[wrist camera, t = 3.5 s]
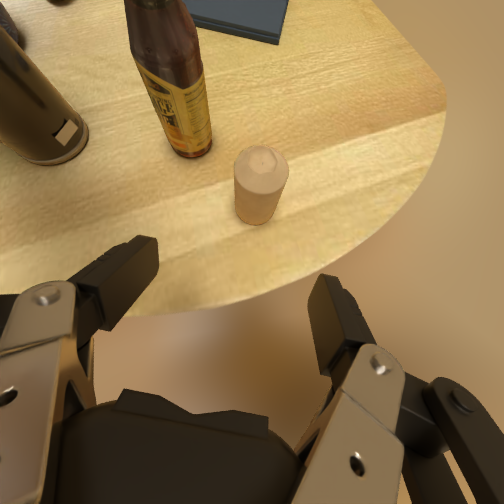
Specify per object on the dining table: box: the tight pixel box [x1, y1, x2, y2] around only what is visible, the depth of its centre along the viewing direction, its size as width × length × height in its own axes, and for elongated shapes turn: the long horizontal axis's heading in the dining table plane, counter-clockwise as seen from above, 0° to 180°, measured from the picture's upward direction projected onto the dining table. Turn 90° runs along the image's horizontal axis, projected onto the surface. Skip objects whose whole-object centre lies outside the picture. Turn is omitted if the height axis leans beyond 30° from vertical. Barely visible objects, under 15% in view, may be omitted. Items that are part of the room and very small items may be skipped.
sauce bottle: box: [124, 0, 212, 157], centre depth 20 cm, size 6×6×20 cm
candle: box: [234, 145, 289, 225], centre depth 23 cm, size 6×6×10 cm
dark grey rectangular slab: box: [182, 0, 289, 45], centre depth 37 cm, size 20×13×1 cm, turn 79°
